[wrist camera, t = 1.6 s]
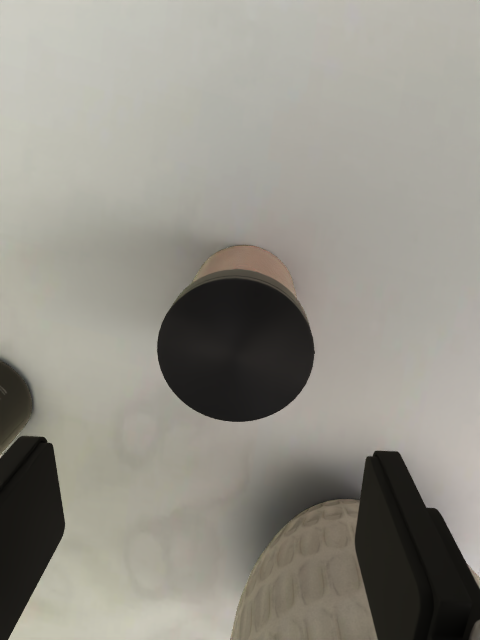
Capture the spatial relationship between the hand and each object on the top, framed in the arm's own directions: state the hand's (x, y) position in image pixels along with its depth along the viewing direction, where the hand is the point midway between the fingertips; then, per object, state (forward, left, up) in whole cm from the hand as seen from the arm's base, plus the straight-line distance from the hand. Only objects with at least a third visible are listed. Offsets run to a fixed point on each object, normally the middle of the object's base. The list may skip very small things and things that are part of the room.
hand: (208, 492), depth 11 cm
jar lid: (0, 0, -9) cm, 9 cm away
